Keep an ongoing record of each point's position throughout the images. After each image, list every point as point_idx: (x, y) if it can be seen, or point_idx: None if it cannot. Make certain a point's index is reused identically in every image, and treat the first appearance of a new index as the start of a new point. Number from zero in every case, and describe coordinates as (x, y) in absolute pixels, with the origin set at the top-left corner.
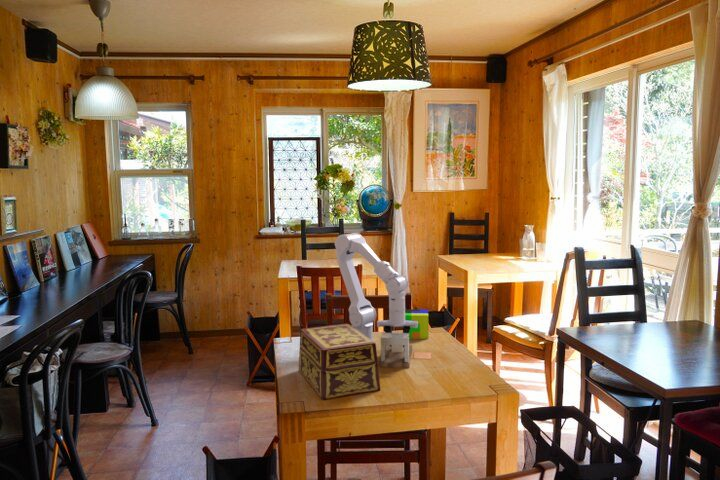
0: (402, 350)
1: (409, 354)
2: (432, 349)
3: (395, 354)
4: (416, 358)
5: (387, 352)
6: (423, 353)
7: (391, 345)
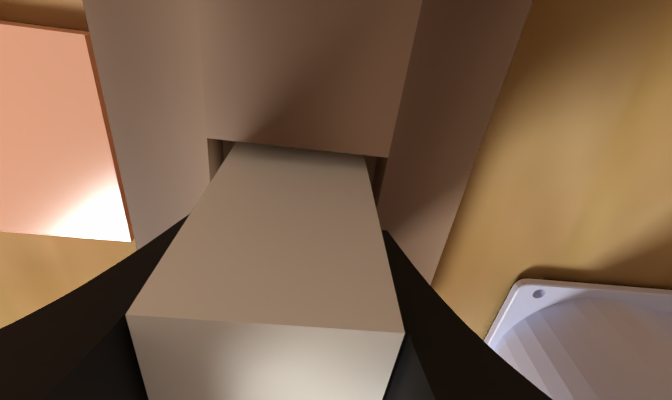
0: (224, 167)
1: (111, 44)
2: (14, 320)
3: (322, 52)
4: (45, 29)
5: (423, 144)
6: (25, 204)
7: None
